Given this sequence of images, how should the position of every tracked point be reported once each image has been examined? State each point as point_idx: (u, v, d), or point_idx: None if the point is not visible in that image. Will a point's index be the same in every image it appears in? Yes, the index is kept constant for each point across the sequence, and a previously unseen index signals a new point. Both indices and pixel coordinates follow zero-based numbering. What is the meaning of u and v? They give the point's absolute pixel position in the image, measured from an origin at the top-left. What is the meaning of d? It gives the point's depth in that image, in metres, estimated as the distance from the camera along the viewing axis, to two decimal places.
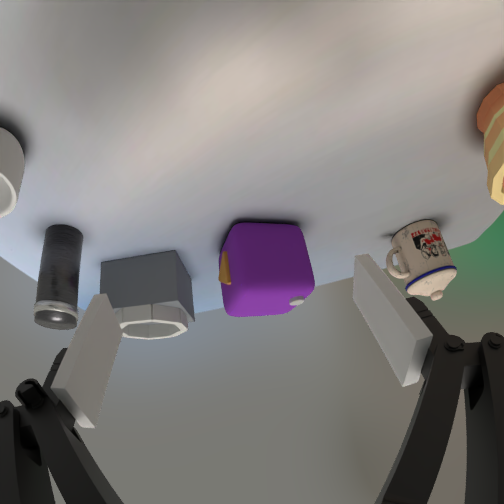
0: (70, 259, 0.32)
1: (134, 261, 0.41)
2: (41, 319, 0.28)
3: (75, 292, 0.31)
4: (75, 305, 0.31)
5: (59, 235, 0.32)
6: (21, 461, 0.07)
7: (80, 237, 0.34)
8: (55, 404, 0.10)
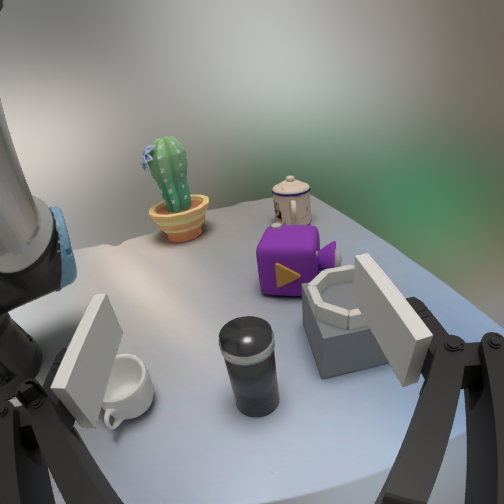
0: None
1: (312, 346, 0.41)
2: (226, 340, 0.29)
3: None
4: None
5: None
6: (21, 461, 0.07)
7: None
8: (55, 404, 0.10)
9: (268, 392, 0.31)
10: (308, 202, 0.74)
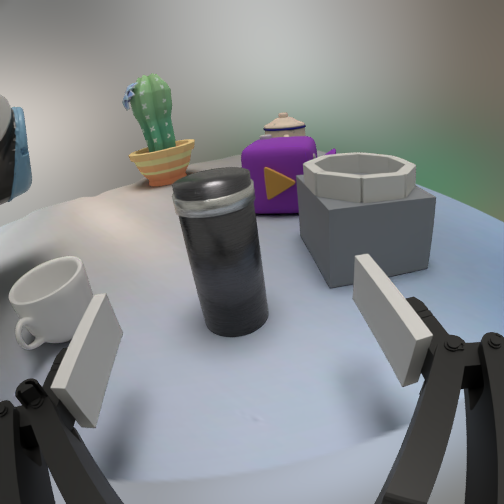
0: None
1: (313, 253, 0.31)
2: (182, 184, 0.19)
3: None
4: None
5: None
6: (21, 461, 0.07)
7: None
8: (55, 404, 0.10)
9: (248, 284, 0.21)
10: None
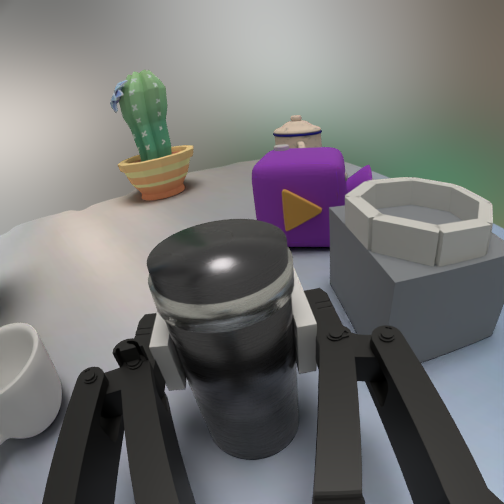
0: None
1: (353, 317, 0.22)
2: (164, 261, 0.11)
3: None
4: None
5: None
6: (94, 436, 0.08)
7: None
8: (153, 369, 0.11)
9: (277, 408, 0.13)
10: None
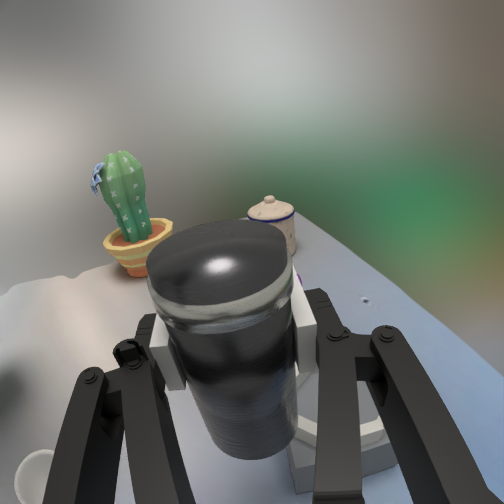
0: None
1: (286, 448, 0.27)
2: (163, 262, 0.11)
3: None
4: None
5: None
6: (94, 436, 0.08)
7: None
8: (153, 369, 0.11)
9: (276, 409, 0.13)
10: (292, 228, 0.61)
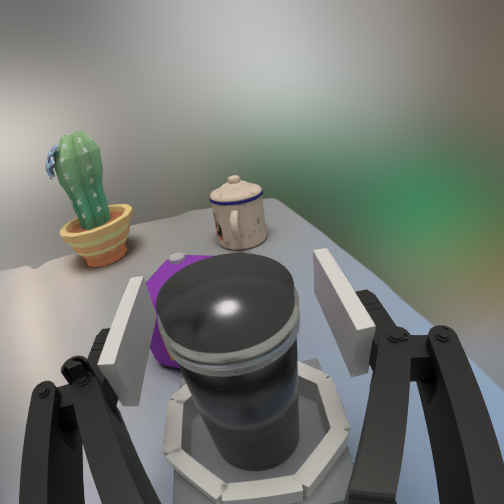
0: None
1: None
2: (173, 305, 0.11)
3: None
4: None
5: None
6: (55, 446, 0.08)
7: None
8: (102, 384, 0.11)
9: (280, 430, 0.13)
10: (259, 212, 0.53)
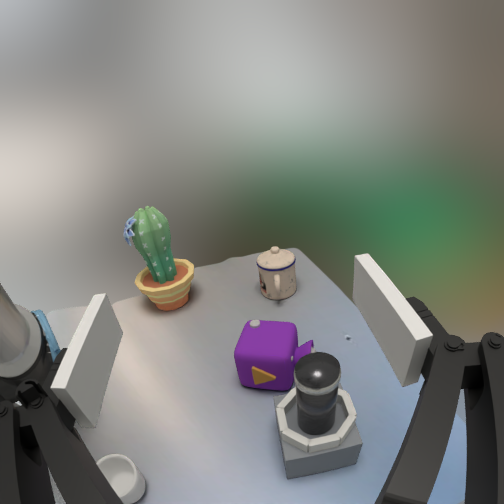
0: None
1: None
2: (302, 374, 0.33)
3: None
4: None
5: None
6: (21, 461, 0.07)
7: None
8: (55, 404, 0.10)
9: (330, 414, 0.34)
10: (293, 273, 0.75)
